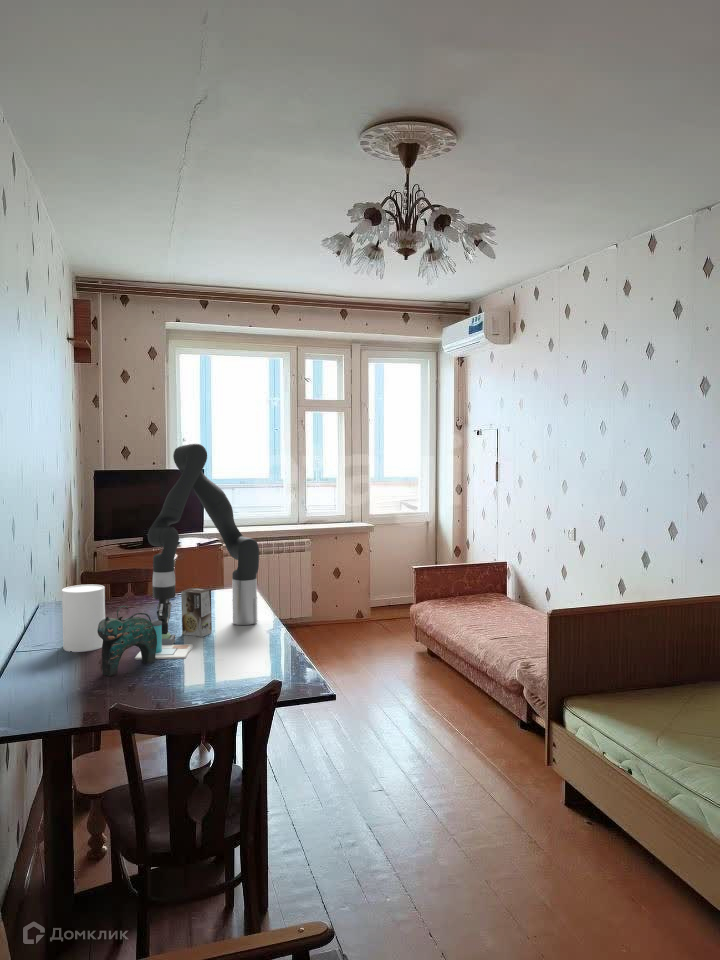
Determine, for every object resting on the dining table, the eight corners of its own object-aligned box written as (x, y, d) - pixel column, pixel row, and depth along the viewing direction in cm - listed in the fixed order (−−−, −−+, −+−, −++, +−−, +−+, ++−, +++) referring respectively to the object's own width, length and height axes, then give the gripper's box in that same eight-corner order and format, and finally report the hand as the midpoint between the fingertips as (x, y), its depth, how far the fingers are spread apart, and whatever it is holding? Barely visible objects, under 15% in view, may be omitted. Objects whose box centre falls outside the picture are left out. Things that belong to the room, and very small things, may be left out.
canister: (98, 651, 236) (97, 592, 235) (57, 652, 236) (56, 592, 235) (110, 640, 250) (109, 584, 249) (71, 641, 249) (69, 584, 248)
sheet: (192, 646, 242) (192, 644, 242) (185, 658, 228) (185, 656, 228) (145, 647, 241) (144, 645, 241) (134, 659, 227) (134, 657, 227)
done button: (171, 640, 247) (171, 632, 247) (169, 643, 243) (169, 634, 243) (160, 640, 247) (160, 632, 247) (158, 643, 243) (158, 635, 243)
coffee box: (212, 633, 259) (212, 589, 258) (201, 637, 253) (201, 592, 253) (192, 630, 263) (191, 587, 262) (181, 634, 257) (180, 590, 256)
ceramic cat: (106, 679, 209) (105, 611, 208) (93, 675, 212) (92, 609, 211) (160, 661, 225) (159, 599, 224) (147, 658, 229) (146, 597, 228)
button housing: (175, 641, 248) (175, 634, 248) (172, 646, 242) (172, 639, 242) (158, 641, 248) (157, 634, 248) (154, 646, 242) (154, 639, 242)
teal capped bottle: (163, 649, 236) (162, 620, 235) (160, 653, 232) (160, 622, 231) (151, 650, 235) (151, 620, 235) (149, 653, 232) (148, 623, 231)
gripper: (171, 587, 238) (171, 638, 239) (178, 580, 251) (179, 628, 252) (148, 588, 237) (149, 639, 238) (156, 580, 250) (157, 628, 251)
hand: (164, 633), depth 245 cm, fingers closed
